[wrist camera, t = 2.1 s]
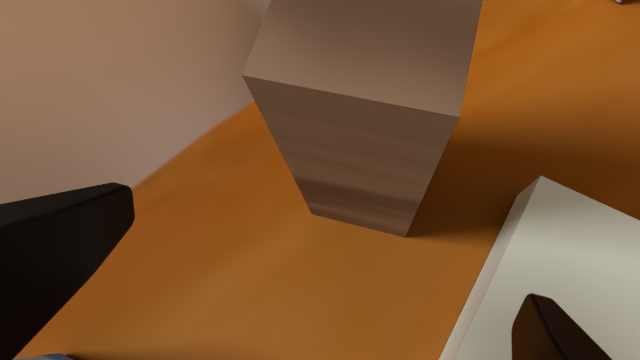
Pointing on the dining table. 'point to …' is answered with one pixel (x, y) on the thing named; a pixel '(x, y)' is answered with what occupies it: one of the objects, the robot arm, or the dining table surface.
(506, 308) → the sage base
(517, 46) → the dining table surface
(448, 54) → the walnut block
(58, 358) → the medicine box
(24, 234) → the robot arm
